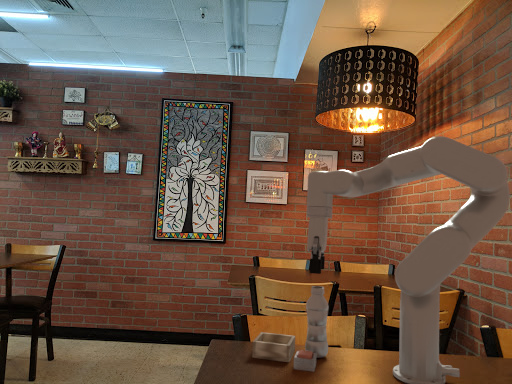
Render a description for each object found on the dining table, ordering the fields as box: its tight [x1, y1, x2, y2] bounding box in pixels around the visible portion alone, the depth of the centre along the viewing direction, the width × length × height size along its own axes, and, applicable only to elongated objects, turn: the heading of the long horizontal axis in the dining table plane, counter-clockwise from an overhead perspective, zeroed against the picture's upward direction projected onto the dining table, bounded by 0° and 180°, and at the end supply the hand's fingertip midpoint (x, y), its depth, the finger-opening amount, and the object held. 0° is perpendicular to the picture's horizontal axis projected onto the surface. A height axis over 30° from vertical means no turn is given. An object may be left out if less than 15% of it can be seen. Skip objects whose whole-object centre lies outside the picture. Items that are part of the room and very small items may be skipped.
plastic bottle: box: [304, 285, 329, 359], centre depth 118 cm, size 6×7×20 cm
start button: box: [298, 349, 313, 359], centre depth 109 cm, size 4×4×3 cm
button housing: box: [293, 350, 317, 373], centre depth 109 cm, size 5×5×3 cm
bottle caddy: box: [252, 331, 296, 363], centre depth 118 cm, size 11×10×4 cm
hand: (317, 271), depth 118 cm, fingers open, 9 cm apart
